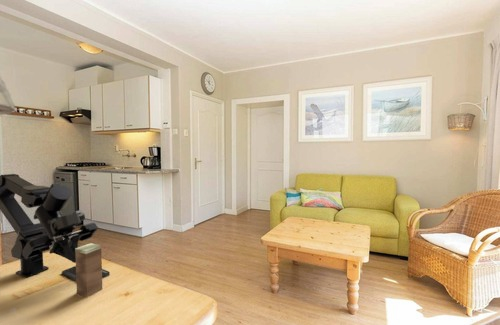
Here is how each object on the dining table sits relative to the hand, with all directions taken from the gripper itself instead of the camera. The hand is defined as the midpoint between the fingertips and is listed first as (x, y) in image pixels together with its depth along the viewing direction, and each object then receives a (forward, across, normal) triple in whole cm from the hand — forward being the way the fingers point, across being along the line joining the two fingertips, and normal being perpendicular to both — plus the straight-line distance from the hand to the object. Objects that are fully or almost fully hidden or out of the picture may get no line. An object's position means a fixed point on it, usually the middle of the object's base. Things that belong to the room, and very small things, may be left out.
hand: (76, 261), depth 75 cm
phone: (+2, +6, +10) cm, 12 cm away
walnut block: (+9, 0, +2) cm, 9 cm away
